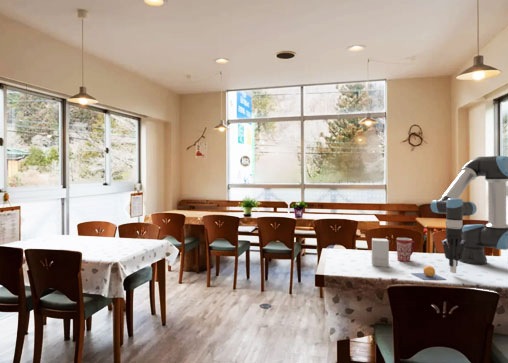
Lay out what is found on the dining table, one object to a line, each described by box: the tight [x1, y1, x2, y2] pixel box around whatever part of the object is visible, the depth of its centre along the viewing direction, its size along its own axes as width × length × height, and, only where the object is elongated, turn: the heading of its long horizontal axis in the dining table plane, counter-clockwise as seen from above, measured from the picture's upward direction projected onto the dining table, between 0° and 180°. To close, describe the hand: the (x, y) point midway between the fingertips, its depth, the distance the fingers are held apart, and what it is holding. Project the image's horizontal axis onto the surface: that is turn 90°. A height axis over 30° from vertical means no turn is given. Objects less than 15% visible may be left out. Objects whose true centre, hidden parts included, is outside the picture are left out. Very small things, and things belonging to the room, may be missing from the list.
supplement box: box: [371, 237, 390, 268], centre depth 213 cm, size 9×9×15 cm
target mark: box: [410, 272, 447, 281], centre depth 189 cm, size 12×12×1 cm
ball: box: [423, 265, 436, 277], centre depth 188 cm, size 6×6×6 cm
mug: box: [396, 237, 416, 263], centre depth 225 cm, size 13×9×14 cm
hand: (453, 272), depth 190 cm, fingers closed
